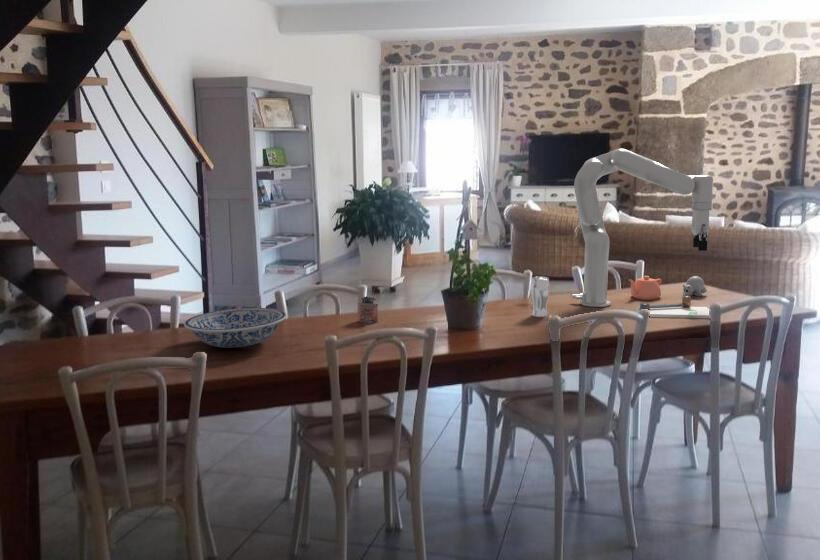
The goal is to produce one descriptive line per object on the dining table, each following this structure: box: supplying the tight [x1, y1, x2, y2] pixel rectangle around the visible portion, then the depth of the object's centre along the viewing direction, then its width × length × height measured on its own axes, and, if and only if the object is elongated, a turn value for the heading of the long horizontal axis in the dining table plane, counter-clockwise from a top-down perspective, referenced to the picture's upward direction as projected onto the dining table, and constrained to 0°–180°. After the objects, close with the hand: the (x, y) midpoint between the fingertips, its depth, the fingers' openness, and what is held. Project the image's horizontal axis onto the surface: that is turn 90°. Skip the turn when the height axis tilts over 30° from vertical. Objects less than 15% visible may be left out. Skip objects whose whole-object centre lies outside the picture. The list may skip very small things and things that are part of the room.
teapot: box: [629, 275, 662, 301], centre depth 327 cm, size 12×18×10 cm
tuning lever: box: [639, 295, 692, 310], centre depth 300 cm, size 21×4×4 cm, turn 101°
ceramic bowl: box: [183, 307, 287, 349], centre depth 259 cm, size 34×34×10 cm
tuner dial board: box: [638, 305, 710, 319], centre depth 296 cm, size 26×17×1 cm, turn 81°
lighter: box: [358, 295, 379, 324], centre depth 290 cm, size 8×3×10 cm, turn 62°
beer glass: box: [530, 276, 550, 318], centre depth 295 cm, size 7×7×15 cm
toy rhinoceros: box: [682, 275, 708, 298], centre depth 328 cm, size 7×12×8 cm, turn 119°
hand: (699, 248), depth 304 cm, fingers open, 9 cm apart
